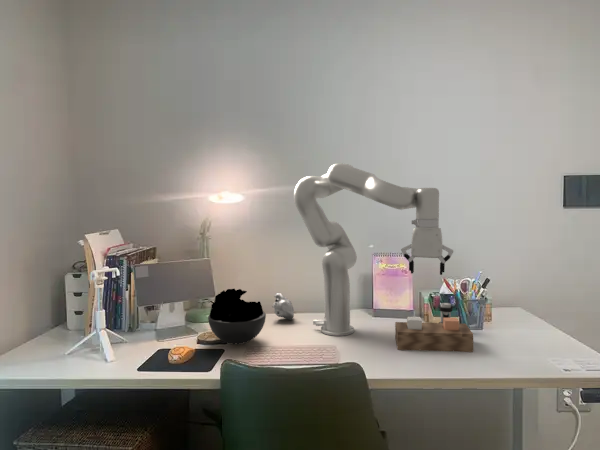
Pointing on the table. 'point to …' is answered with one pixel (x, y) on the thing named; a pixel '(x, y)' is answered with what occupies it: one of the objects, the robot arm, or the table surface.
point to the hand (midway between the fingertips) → (426, 273)
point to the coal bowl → (235, 317)
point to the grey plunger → (414, 323)
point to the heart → (283, 307)
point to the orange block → (450, 324)
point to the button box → (433, 338)
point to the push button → (445, 310)
